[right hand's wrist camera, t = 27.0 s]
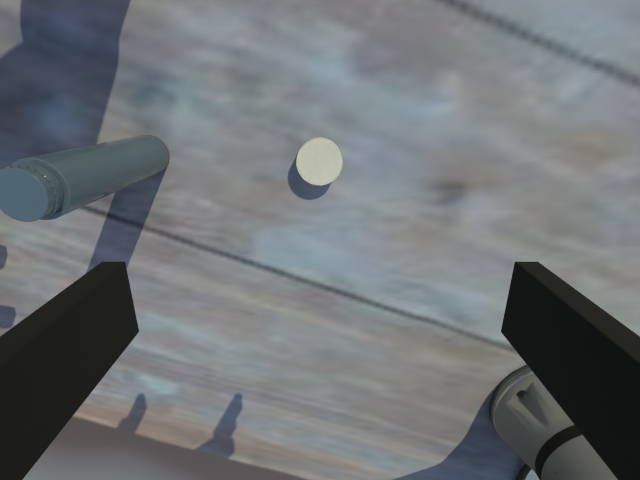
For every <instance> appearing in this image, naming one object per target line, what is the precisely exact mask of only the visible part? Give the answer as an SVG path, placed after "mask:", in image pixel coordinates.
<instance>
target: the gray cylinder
mask: <svg viewBox="0 0 640 480" xmlns="http://www.w3.org/2000/svg"><path fill="white" fill-rule="evenodd" d="M168 163H169V152H168V149H167V147H166V146H165V144H164V143H163V142H162V141H161V140H160V139H158V138H156V137H154V136H151V135H143V136H137V137H132V138H127V139H122V140H116V141H111V142H106V143H101V144H95V145H90V146H85V147H79V148H74V149H69V150H64V151H58V152H53V153H48V154H42V155H37V156H32V157H27V158H22V159H19V160H17V161H15V162H14V163H13V164H12V165H10V166H7V167H4V168H2V169H1V170H0V209H1V210H2V211H3V212H4V213H5V214H7V215H8V216H10V217H12V218H14V219H16V220H19V221H25V222H30V221H35V220H38V219H41V220H52V219H56V218H58V217H60V216H63V215H65V214H67V213H69V212H72V211H74V210H76V209H78V208H81V207H83V206H85V205H88V204H90V203H92V202H94V201H97V200H99V199H101V198H103V197H106V196H108V195H110V194H112V193H115V192H117V191H119V190H121V189H124V188H126V187H128V186H131V185H133V184H135V183H137V182H140V181H142V180H144V179H146V178H149V177H151V176H153V175H155V174H158V173H160V172H162V171H163V170H164V169H165V168H166V167H167V165H168Z"/></svg>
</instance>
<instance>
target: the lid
mask: <svg viewBox="0 0 640 480" xmlns="http://www.w3.org/2000/svg"><path fill="white" fill-rule="evenodd" d="M296 165H297V170H298V172H299V174H300V176H301V177H302V178H303V179H304V180H305V181H306V182H308V183H310V184H313V185H320V186H321V185H326V184H329V183H331V182H332V181H334V180H335V179H336V178H337V177H338V175H339V174H340V172H341V169H342V156H341V153H340V150H339V148H338V147H337V146H336V144H335V143H333V142H332V141H331V140H329V139H326V138H322V137H317V138H312V139H310V140H308V141H307V142H305V143H304V144H303V145H302V147H301V148H300V150H299V152H298V155H297V159H296Z"/></svg>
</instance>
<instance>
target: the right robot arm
mask: <svg viewBox="0 0 640 480" xmlns="http://www.w3.org/2000/svg"><path fill="white" fill-rule="evenodd" d="M138 332H139V329H138V324H137V319H136V314H135V309H134V304H133V299H132V294H131V289H130V284H129V279H128V275H127V270H126V265H125V262H101V263H100V264H99V265H97V266H96V267H95V268H93V269H92V270H90V271H89V272H88V273H86V274H85V275H84V276H82V277H81V278H80V279H78V280H77V281H75V282H74V283H73V284H71V285H70V286H69V287H67V288H66V289H65V290H63V291H62V292H61V293H59V294H58V295H56V296H55V297H54V298H52V299H51V300H50V301H48V302H47V303H46V304H44V305H43V306H41V307H40V308H39V309H37V310H36V311H35V312H33V313H32V314H31V315H29V316H28V317H26V318H25V319H24V320H22V321H21V322H20V323H18V324H17V325H16V326H14V327H13V328H12V329H10V330H9V331H7V332H6V333H5V334H3V335H2V336H1V337H0V480H22V479H23V478H24V477H25V475H26V474H27V473H28V472H29V470H30V469H31V468H32V467H33V465H34V464H35V463H36V462H37V460H38V459H39V458H40V456H41V455H42V454H43V453H44V451H45V450H46V449H47V448H48V446H49V445H50V444H51V442H52V441H53V440H54V439H55V437H56V436H57V435H58V434H59V432H60V431H61V430H62V428H63V427H64V426H65V425H66V423H67V422H68V421H69V420H70V418H71V417H72V416H73V415H74V413H75V412H76V411H77V410H78V408H79V407H80V406H81V404H82V403H83V402H84V401H85V399H86V398H87V397H88V396H89V394H90V393H91V392H92V391H93V389H94V388H95V387H96V385H97V384H98V383H99V382H100V380H101V379H102V378H103V377H104V375H105V374H106V373H107V371H108V370H109V369H110V368H111V366H112V365H113V364H114V363H115V361H116V360H117V359H118V358H119V356H120V355H121V354H122V352H123V351H124V350H125V349H126V347H127V346H128V345H129V344H130V342H131V341H132V340H133V338H134V337H135V336H136V335H137V333H138ZM501 332H502V333H503V335H504V336H505V337H506V338H507V340H508V341H509V342H510V344H511V345H512V346H513V347H514V349H515V350H516V351H517V352H518V354H519V355H520V356H521V358H522V359H523V360H524V361H525V363H526V364H527V366H525V367H523V368H521V369H519V370H517V371H516V372H514V373H513V374H511V375H510V376H509V377H507V378H506V379H505V380H504V381H503V382H502V383H501V384H500V385H499V387H498V388H497V390H496V391H495V393H494V395H493V397H492V400H491V403H490V409H489V411H490V419H491V422H492V424H493V426H494V428H495V430H496V432H497V433H498V435H499V437H500V438H501V439H502V440H503V441H504V443H505V444H506V445H507V446H508V447H510V448H511V449H512V450H513V451H514V452H515V453H516V454H517V455H518V456H519V457H520V458H521V459H522V460H523V461H524V462H525V465H524V466H523V467H522V469H521V470H520V472H519V474H518V477H517V480H525V478H526V476H527V474H528V473H529V471H530V470H531V469H533V470H534V471H535V473H536V474H537V476H538V478H539V479H540V480H640V337H639V336H638V335H637V334H635V333H634V332H633V331H631V330H630V329H628V328H627V327H626V326H624V325H623V324H622V323H620V322H619V321H618V320H616V319H615V318H614V317H612V316H611V315H609V314H608V313H607V312H605V311H604V310H603V309H601V308H600V307H599V306H597V305H596V304H594V303H593V302H592V301H590V300H589V299H588V298H586V297H585V296H584V295H582V294H581V293H579V292H578V291H577V290H575V289H574V288H573V287H571V286H570V285H569V284H567V283H566V282H565V281H563V280H562V279H560V278H559V277H558V276H556V275H555V274H554V273H552V272H551V271H550V270H548V269H547V268H545V267H544V266H543V265H541V264H540V263H539V262H515V265H514V270H513V275H512V279H511V284H510V289H509V294H508V299H507V304H506V309H505V314H504V319H503V324H502V329H501Z"/></svg>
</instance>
